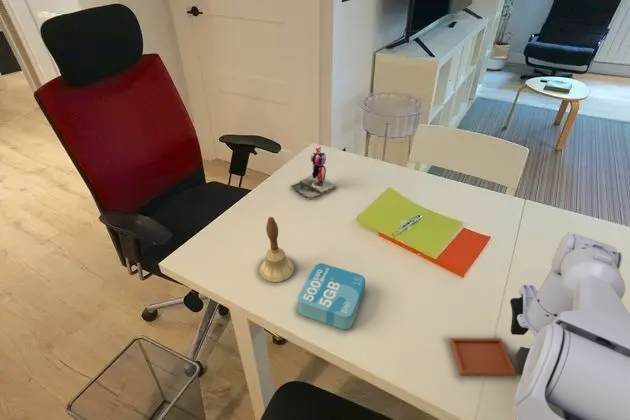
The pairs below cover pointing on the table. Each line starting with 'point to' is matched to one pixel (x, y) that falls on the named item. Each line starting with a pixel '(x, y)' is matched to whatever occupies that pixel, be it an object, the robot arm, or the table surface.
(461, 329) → the table surface
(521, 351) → the remote
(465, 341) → the dish
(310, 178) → the statue
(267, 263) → the hand bell
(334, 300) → the data package
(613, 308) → the robot arm
